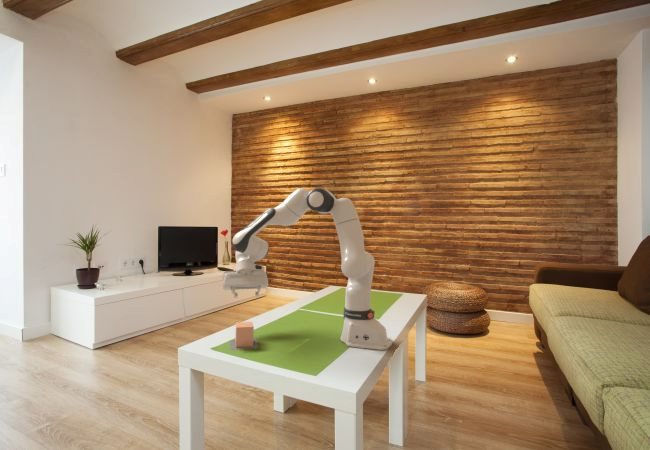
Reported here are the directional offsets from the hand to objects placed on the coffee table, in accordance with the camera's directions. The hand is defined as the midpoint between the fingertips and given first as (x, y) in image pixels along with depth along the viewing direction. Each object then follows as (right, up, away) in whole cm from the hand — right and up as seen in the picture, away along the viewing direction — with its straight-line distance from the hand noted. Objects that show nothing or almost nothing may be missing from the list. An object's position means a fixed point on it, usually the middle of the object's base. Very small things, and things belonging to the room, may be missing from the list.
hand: (246, 296), depth 158 cm
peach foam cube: (+2, -17, -14) cm, 22 cm away
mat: (+2, -17, -14) cm, 22 cm away
